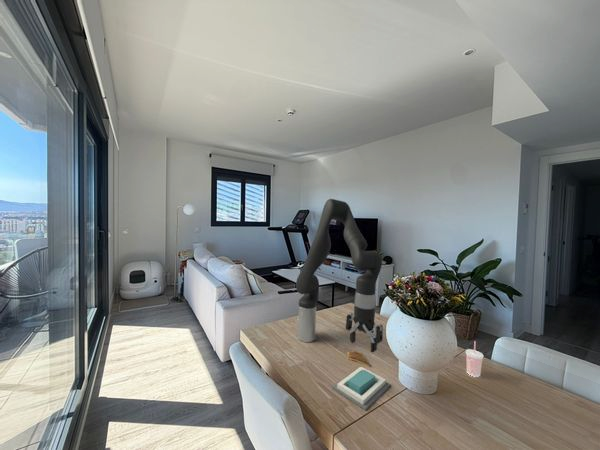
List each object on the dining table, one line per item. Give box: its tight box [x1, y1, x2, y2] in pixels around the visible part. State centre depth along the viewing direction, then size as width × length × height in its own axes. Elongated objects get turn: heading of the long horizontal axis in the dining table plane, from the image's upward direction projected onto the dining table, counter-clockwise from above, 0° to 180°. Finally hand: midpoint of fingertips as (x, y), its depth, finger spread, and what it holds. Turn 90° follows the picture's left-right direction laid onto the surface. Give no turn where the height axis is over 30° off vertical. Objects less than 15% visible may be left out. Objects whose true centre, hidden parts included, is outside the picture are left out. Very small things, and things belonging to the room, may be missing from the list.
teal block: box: [348, 370, 375, 395], centre depth 93 cm, size 10×5×3 cm, turn 130°
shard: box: [347, 350, 371, 367], centre depth 111 cm, size 11×8×2 cm
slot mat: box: [331, 366, 392, 411], centre depth 93 cm, size 14×18×2 cm
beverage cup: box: [465, 340, 484, 378], centre depth 103 cm, size 6×6×14 cm
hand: (362, 346), depth 93 cm, fingers open, 8 cm apart
